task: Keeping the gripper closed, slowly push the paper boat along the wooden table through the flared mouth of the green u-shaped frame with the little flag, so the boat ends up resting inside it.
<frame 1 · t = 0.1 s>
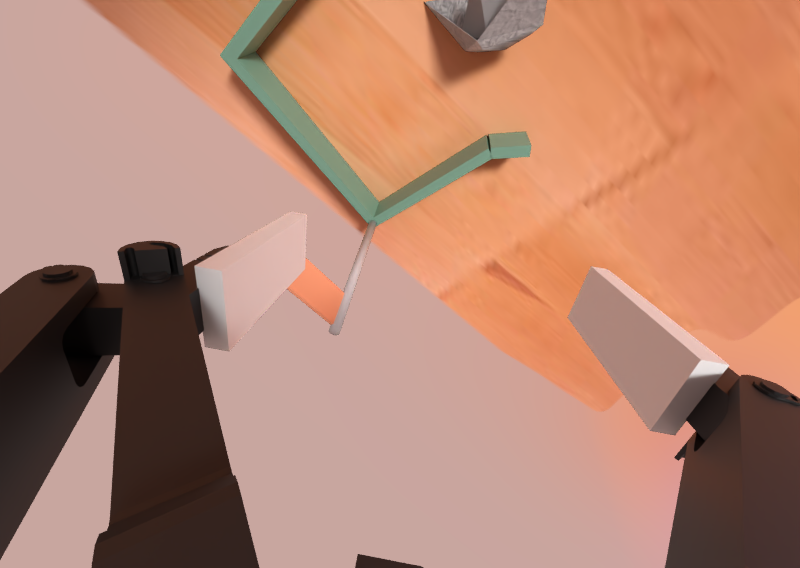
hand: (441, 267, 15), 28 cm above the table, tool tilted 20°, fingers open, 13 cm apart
green u-shaped frame: (375, 94, 35), on the table
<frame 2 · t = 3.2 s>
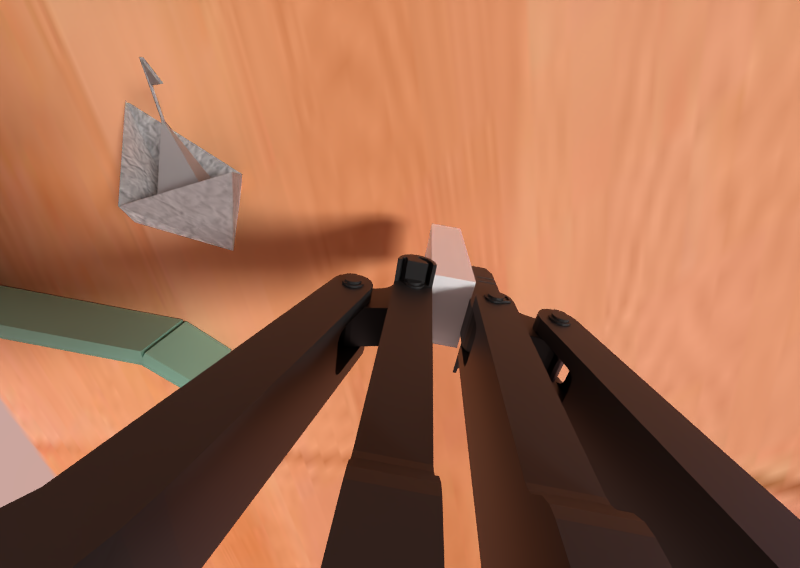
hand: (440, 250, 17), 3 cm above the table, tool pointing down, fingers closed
green u-shaped frame: (37, 158, 21), on the table
paper boat: (223, 162, 20), on the table
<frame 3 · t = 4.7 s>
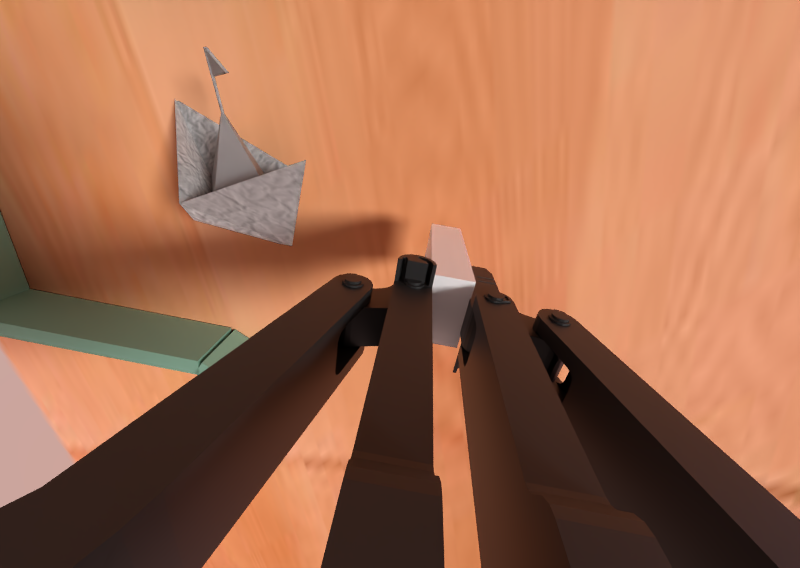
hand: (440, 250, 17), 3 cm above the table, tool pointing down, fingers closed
green u-shaped frame: (96, 166, 20), on the table
paper boat: (273, 158, 19), on the table
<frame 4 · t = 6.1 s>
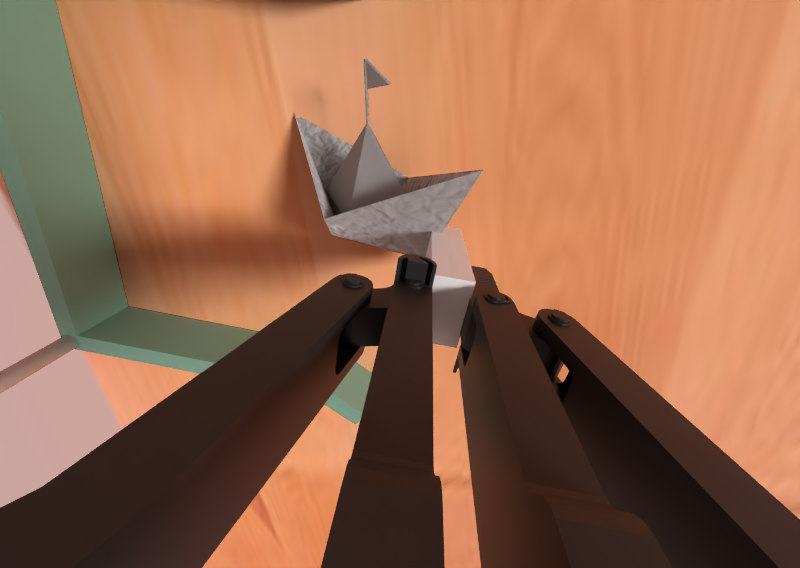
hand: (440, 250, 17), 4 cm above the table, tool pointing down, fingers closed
green u-shaped frame: (218, 188, 20), on the table
paper boat: (388, 167, 19), on the table, touching gripper
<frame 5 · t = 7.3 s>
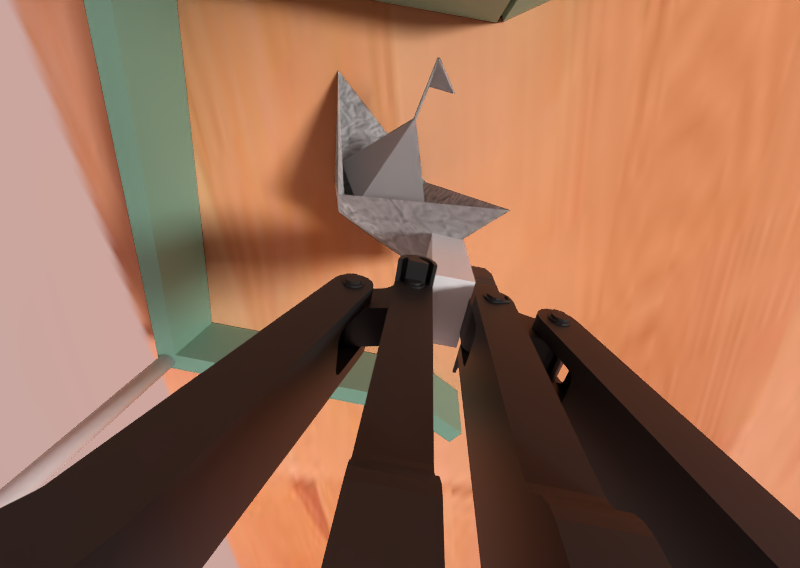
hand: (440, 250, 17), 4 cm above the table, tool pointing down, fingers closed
green u-shaped frame: (321, 207, 20), on the table
paper boat: (409, 164, 19), on the table, touching gripper
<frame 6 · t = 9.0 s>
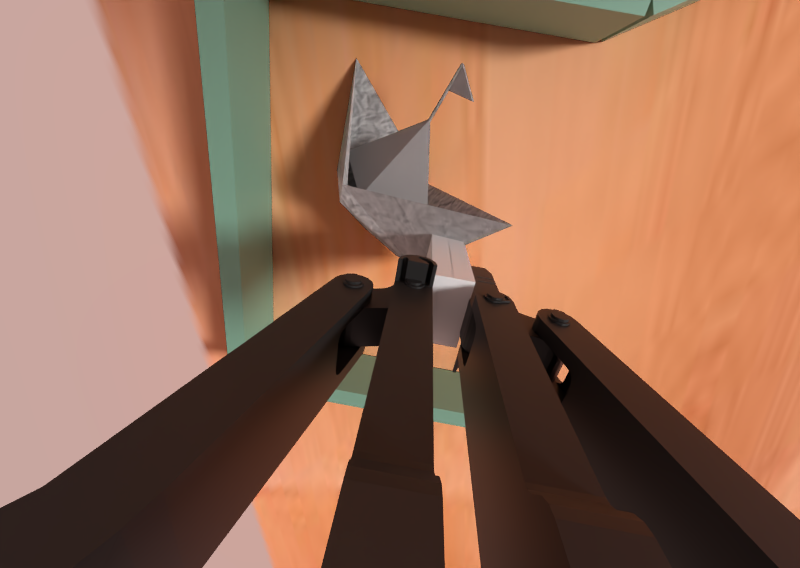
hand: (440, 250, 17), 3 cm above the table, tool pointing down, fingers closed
green u-shaped frame: (397, 224, 20), on the table
paper boat: (415, 164, 19), on the table, touching gripper
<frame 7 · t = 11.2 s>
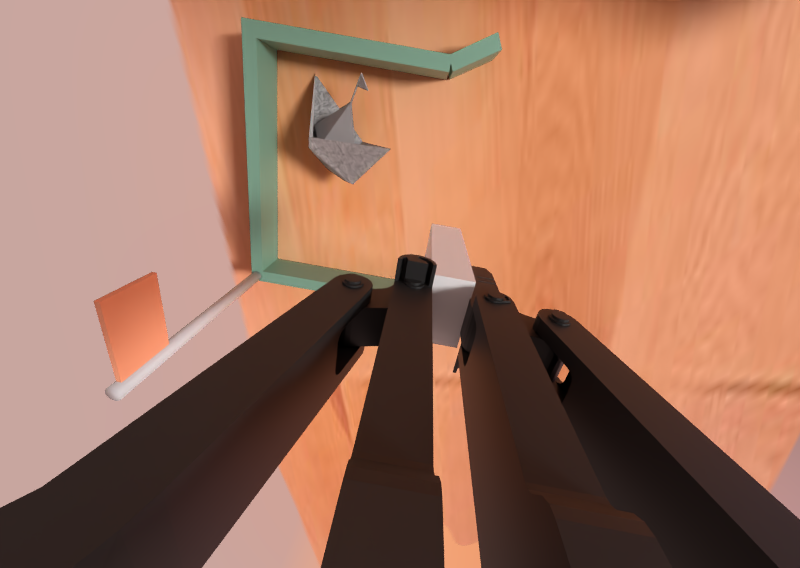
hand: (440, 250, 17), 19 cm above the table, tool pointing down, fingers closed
green u-shaped frame: (351, 180, 34), on the table
paper boat: (354, 131, 33), on the table
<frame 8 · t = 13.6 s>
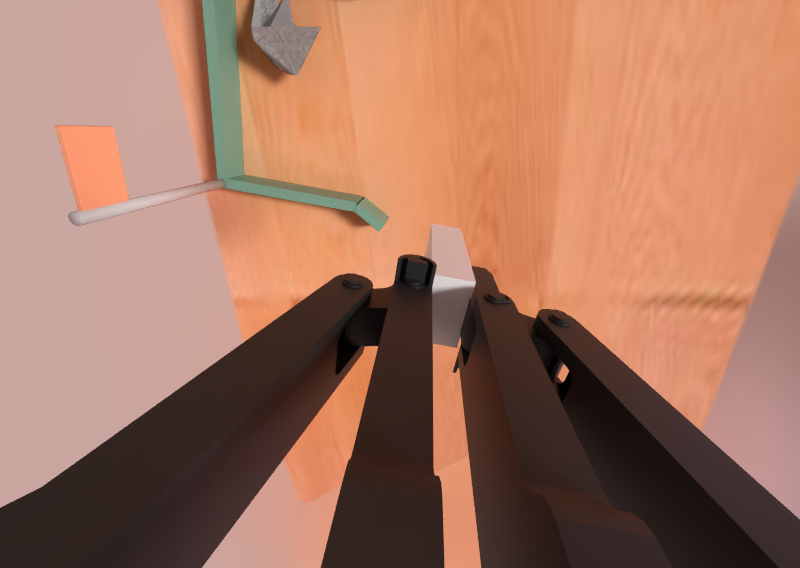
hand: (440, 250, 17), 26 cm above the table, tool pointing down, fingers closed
green u-shaped frame: (305, 94, 38), on the table
paper boat: (299, 32, 36), on the table
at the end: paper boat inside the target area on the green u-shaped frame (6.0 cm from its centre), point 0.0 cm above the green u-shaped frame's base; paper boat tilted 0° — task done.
